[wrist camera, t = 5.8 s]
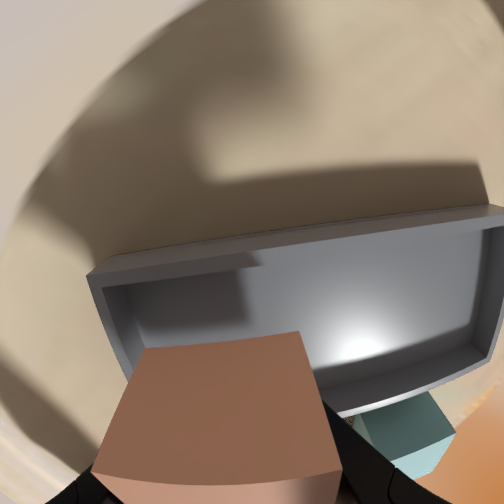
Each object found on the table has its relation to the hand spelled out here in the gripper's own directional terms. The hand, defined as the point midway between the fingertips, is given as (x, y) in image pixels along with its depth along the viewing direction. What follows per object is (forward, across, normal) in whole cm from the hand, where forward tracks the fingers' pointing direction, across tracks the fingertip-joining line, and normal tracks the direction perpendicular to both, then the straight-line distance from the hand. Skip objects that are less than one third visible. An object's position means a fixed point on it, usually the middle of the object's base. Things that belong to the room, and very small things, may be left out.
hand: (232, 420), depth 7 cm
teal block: (+5, -8, +8) cm, 13 cm away
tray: (+5, -4, 0) cm, 7 cm away
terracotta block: (+1, 0, 0) cm, 1 cm away
